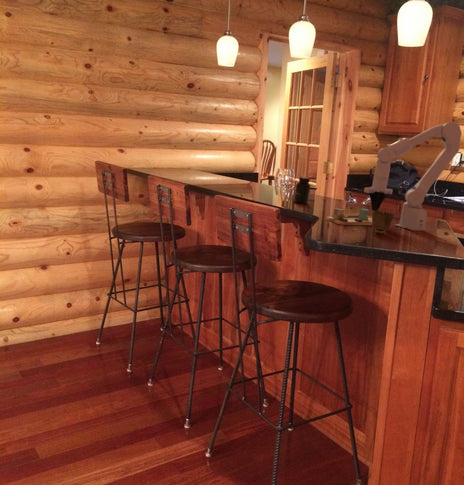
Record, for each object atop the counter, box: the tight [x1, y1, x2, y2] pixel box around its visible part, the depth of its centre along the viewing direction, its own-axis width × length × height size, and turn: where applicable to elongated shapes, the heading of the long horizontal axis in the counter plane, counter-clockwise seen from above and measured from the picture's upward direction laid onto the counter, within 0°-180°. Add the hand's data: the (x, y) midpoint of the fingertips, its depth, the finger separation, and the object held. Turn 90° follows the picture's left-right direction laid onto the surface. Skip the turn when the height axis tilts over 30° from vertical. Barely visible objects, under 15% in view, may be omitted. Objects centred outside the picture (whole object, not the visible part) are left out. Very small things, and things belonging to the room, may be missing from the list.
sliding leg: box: [358, 208, 372, 220], centre depth 208 cm, size 6×2×4 cm, turn 32°
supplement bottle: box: [293, 176, 312, 205], centre depth 244 cm, size 7×7×12 cm
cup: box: [371, 209, 395, 236], centre depth 188 cm, size 8×7×8 cm
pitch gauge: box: [324, 207, 373, 226], centre depth 207 cm, size 10×24×5 cm, turn 122°
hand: (374, 210), depth 212 cm, fingers closed
